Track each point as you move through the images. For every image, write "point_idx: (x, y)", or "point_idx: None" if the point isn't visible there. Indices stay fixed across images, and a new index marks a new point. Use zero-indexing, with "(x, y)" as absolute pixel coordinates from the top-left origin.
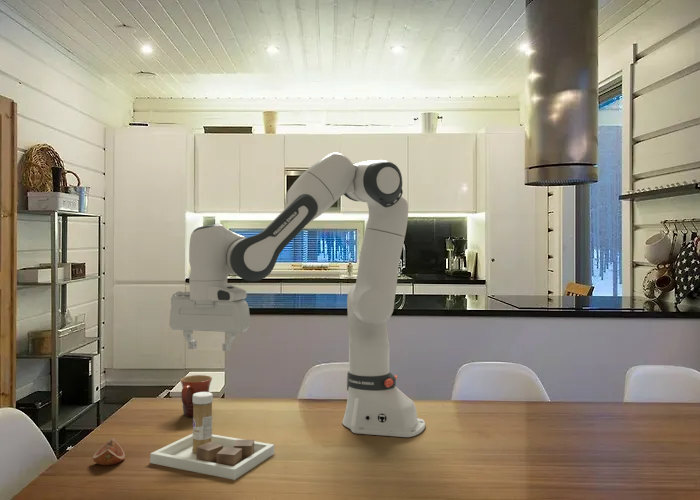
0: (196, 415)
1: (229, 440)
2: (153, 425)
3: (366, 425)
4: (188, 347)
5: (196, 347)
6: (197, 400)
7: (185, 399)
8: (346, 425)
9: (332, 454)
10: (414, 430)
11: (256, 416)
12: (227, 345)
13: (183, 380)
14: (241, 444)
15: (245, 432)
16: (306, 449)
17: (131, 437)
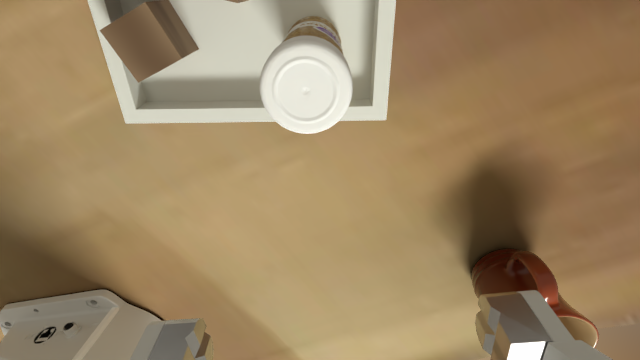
0: (309, 32)
1: (260, 106)
2: (570, 170)
3: (88, 315)
4: (532, 294)
5: (477, 330)
6: (299, 38)
7: (525, 258)
8: (141, 312)
9: (49, 180)
10: (9, 328)
11: (354, 300)
12: (131, 357)
13: (587, 333)
14: (136, 27)
15: (314, 216)
16: (118, 183)
17: (589, 71)
